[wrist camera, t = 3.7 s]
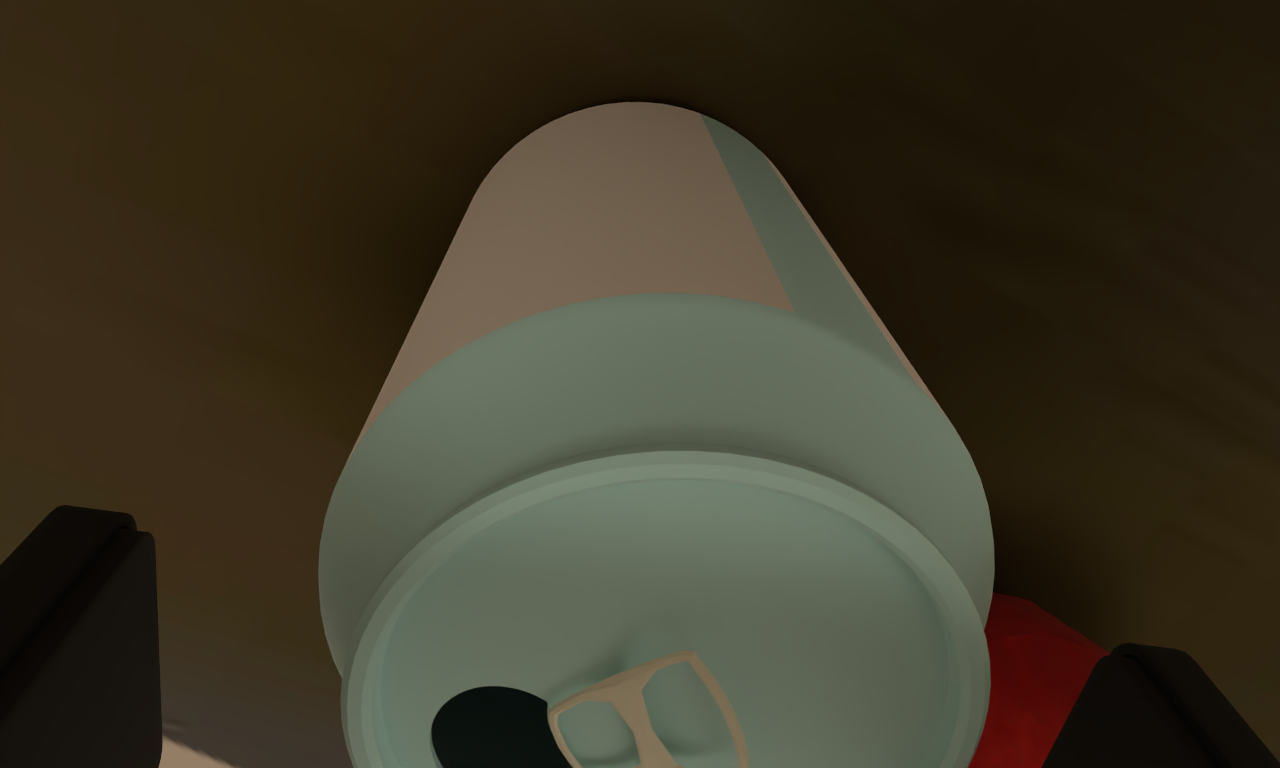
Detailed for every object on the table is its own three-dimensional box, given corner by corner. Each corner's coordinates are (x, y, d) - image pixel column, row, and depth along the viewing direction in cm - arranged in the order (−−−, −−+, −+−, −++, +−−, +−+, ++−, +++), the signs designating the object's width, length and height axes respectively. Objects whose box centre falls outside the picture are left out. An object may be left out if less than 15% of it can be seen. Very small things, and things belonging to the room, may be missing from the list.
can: (678, 474, 21) (752, 1048, 10) (399, 321, 19) (137, 831, 8) (876, 223, 19) (1243, 639, 8) (577, 18, 17) (524, 197, 6)
